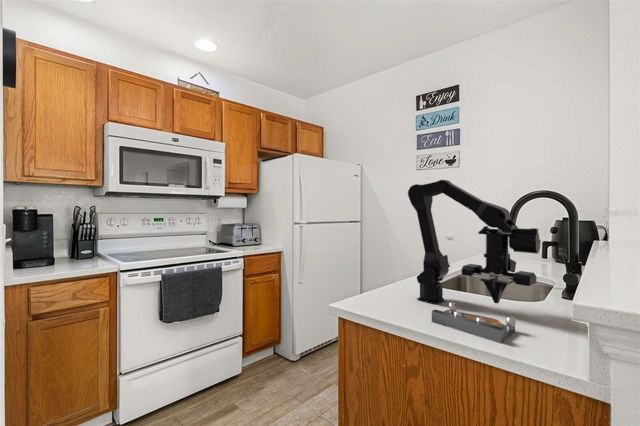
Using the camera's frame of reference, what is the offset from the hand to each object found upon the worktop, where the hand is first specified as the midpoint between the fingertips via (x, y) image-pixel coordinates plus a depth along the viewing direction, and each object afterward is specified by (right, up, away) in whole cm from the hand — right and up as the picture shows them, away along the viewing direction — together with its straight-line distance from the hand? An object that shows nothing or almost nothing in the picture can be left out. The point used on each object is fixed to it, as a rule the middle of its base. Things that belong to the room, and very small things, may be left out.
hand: (496, 303), depth 95 cm
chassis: (-11, -4, -9) cm, 15 cm away
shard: (-9, -4, -7) cm, 12 cm away
